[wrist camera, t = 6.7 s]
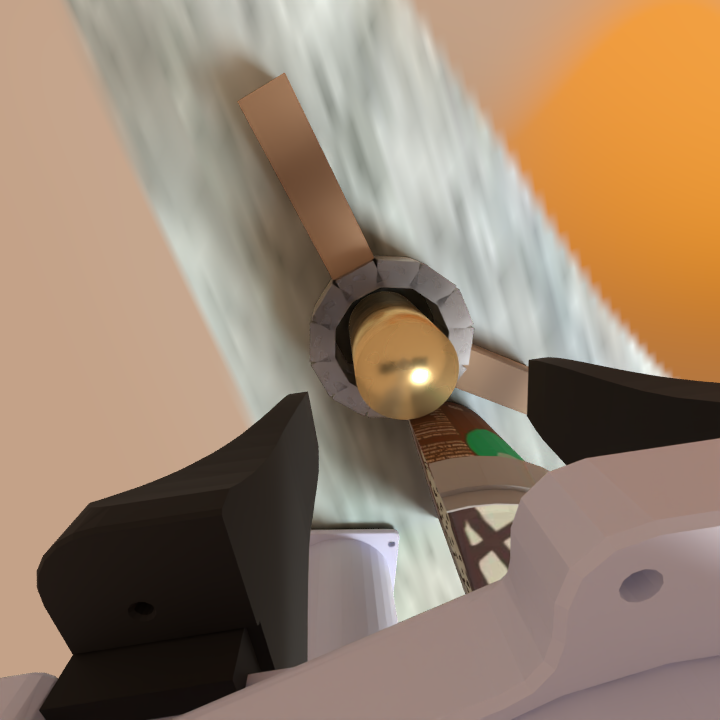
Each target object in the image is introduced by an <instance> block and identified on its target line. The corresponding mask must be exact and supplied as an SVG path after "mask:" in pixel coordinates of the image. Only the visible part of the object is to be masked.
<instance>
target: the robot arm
mask: <svg viewBox="0 0 720 720" xmlns="http://www.w3.org/2000/svg"><path fill="white" fill-rule="evenodd" d="M527 417H528V418H529V420H530V422H531V423H532V425H533V426H534V428H535V429H536V431H537V432H538V433H539V435H540V436H541V438H542V439H543V440H544V441H545V442H546V444H547V445H548V446H549V447H550V448H551V449H552V450H553V451H554V452H555V453H556V454H557V456H558V457H559V458H560V459H561V460H562V461H563V462H564V463H565V464H566V466H564V467H561V468H558V469H555V470H553V471H550V472H548V473H547V474H546V475H544V476H543V477H542V478H541V479H540V480H539V481H538V482H537V483H536V484H535V485H534V486H533V487H532V488H531V489H530V490H529V491H528V492H527V493H525V494H524V495H523V497H522V498H521V499H520V502H519V505H518V508H517V511H516V514H515V517H514V520H513V523H512V526H511V540H510V562H509V568H508V572H507V573H506V575H505V576H503V577H502V578H501V579H500V580H498V581H496V582H493V583H491V584H489V585H486V586H484V587H482V588H479V589H477V590H475V591H472V592H470V593H468V594H465V595H463V596H460V597H458V598H456V599H453V600H451V601H449V602H446V603H444V604H442V605H439V606H437V607H435V608H432V609H430V610H427V611H425V612H423V613H420V614H418V615H416V616H413V617H411V618H409V619H406V620H404V621H402V622H399V623H398V619H397V612H396V606H395V600H394V594H393V592H394V583H395V574H396V564H397V555H398V546H399V533H398V531H397V530H395V529H345V530H311V525H312V518H313V510H314V503H315V496H316V489H317V481H318V473H319V450H318V442H317V436H316V431H315V426H314V421H313V416H312V410H311V405H310V400H309V395H308V392H302V393H295V394H289V395H287V396H286V397H285V398H283V399H282V400H281V401H280V402H279V403H278V404H277V405H276V406H275V407H274V408H272V409H271V410H270V411H269V412H268V413H267V414H266V415H265V416H263V417H262V418H261V419H260V420H259V421H258V422H256V423H255V424H254V425H253V426H251V427H250V428H249V429H248V430H246V431H245V432H244V433H243V434H241V435H240V436H239V437H237V438H236V439H234V440H233V441H231V442H230V443H228V444H227V445H225V446H224V447H222V448H220V449H219V450H217V451H215V452H214V453H212V454H210V455H208V456H206V457H205V458H203V459H201V460H199V461H197V462H195V463H193V464H191V465H189V466H187V467H185V468H183V469H181V470H179V471H177V472H174V473H172V474H170V475H168V476H165V477H163V478H161V479H158V480H156V481H153V482H151V483H148V484H146V485H143V486H140V487H137V488H135V489H131V490H129V491H126V492H122V493H120V494H116V495H114V496H110V497H108V498H104V499H101V500H98V501H95V502H91V503H89V504H88V505H87V506H86V508H85V509H84V510H83V511H82V512H81V513H80V515H79V516H78V517H77V518H76V519H75V520H74V521H73V522H72V523H71V525H70V526H69V527H68V528H67V529H66V530H65V531H64V533H63V534H62V535H61V536H60V537H59V539H57V541H56V542H55V543H54V544H53V545H52V546H51V547H50V549H49V550H48V551H47V552H46V553H45V554H44V555H43V557H42V560H41V562H40V565H39V567H38V569H37V589H38V592H39V594H40V597H41V599H42V602H43V604H44V607H45V608H46V610H47V612H48V613H49V615H50V617H51V618H52V620H53V622H54V624H55V625H56V627H57V629H58V630H59V632H60V634H61V635H62V637H63V639H64V640H65V642H66V644H67V645H68V647H69V649H70V651H71V652H72V654H73V656H72V657H71V659H70V661H69V662H68V664H67V665H66V667H65V669H64V670H63V672H62V674H61V675H60V677H59V678H56V677H55V676H53V675H50V674H47V673H28V674H22V675H16V676H9V677H3V678H0V720H720V383H714V382H702V381H693V380H692V381H691V380H684V379H675V378H667V377H660V376H653V375H647V374H641V373H635V372H630V371H624V370H619V369H614V368H609V367H604V366H599V365H594V364H589V363H584V362H579V361H574V360H568V359H562V358H552V357H546V358H539V359H532V360H529V366H528V397H527ZM391 541H393V542H392V543H389V542H391Z"/></svg>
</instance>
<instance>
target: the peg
mask: <svg viewBox="0 0 720 720" xmlns="http://www.w3.org/2000/svg"><path fill="white" fill-rule="evenodd" d="M349 336H350V343H351V350H352V357H353V363H354V370H355V377H356V384H357V387H358V390H359V393H360V395H361V397H362V398H363V400H364V401H365V402H366V404H367V405H368V406H369V407H370V408H372V409H373V410H374V411H376V412H377V413H379V414H381V415H383V416H386V417H388V418H393V419H399V420H409V419H415V418H419V417H422V416H425V415H427V414H429V413H431V412H433V411H435V410H436V409H438V408H439V407H440V406H441V405H442V404H443V403H444V402H445V401H446V400H447V399H448V398H449V396H450V395H451V394H452V392H453V390H454V388H455V386H456V383H457V380H458V375H459V361H458V356H457V353H456V350H455V348H454V346H453V344H452V343H451V341H450V340H449V339H448V338H447V337H446V336H445V335H444V334H443V333H442V332H441V331H440V330H439V329H438V328H437V327H436V326H435V325H434V324H433V323H432V322H431V321H430V320H429V319H428V318H427V317H426V316H425V315H424V314H423V313H422V312H420V311H419V310H418V309H417V308H416V307H415V306H414V305H413V304H412V303H411V302H410V301H409V300H408V299H407V298H405V297H404V296H402V295H400V294H398V293H394V292H389V291H382V292H377V293H373V294H371V295H369V296H367V297H365V298H364V299H362V300H361V301H360V302H359V303H358V304H357V305H356V307H355V308H354V310H353V311H352V314H351V316H350V320H349Z"/></svg>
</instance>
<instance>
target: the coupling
mask: <svg viewBox="0 0 720 720" xmlns="http://www.w3.org/2000/svg"><path fill="white" fill-rule="evenodd" d="M237 102H238V104H239V106H240V108H241V109H242V111H243V113H244V115H245V117H246V119H247V121H248V123H249V124H250V126H251V128H252V130H253V132H254V134H255V136H256V137H257V139H258V141H259V143H260V145H261V147H262V149H263V151H264V152H265V154H266V156H267V158H268V160H269V162H270V164H271V165H272V167H273V169H274V171H275V173H276V175H277V177H278V179H279V180H280V182H281V184H282V186H283V188H284V190H285V192H286V194H287V195H288V197H289V199H290V201H291V203H292V205H293V207H294V208H295V210H296V212H297V214H298V216H299V218H300V220H301V222H302V223H303V225H304V227H305V229H306V231H307V233H308V235H309V236H310V238H311V240H312V242H313V244H314V246H315V248H316V250H317V251H318V253H319V255H320V257H321V259H322V261H323V263H324V265H325V266H326V268H327V270H328V272H329V274H330V276H331V280H330V281H329V283H328V285H327V286H326V288H325V290H324V291H323V293H322V295H321V296H320V298H319V300H318V301H317V303H316V304H315V306H314V310H313V313H312V317H311V321H310V361H311V366H312V368H313V370H314V371H315V373H316V374H317V376H318V378H319V379H320V381H321V383H322V384H323V386H324V388H325V389H326V391H327V393H328V394H329V396H332V395H333V400H335V401H337V402H339V403H341V404H343V405H344V406H346V407H348V408H350V409H352V410H354V411H355V412H357V413H359V414H361V415H363V416H365V414H366V413H367V414H368V417H386V416H383V415H381V414H379V413H377V412H376V411H374V410H373V409H372V408H370V407H369V406H368V405H367V404H366V402H365V401H364V400H363V398H362V397H361V395H360V393H359V390H358V387H357V384H356V377H355V370H354V366H353V365H351V364H350V363H348V362H347V361H346V359H345V358H344V356H343V354H342V352H341V351H340V349H339V347H338V345H337V343H336V342H335V331H336V327H337V325H338V324H339V322H340V321H341V319H342V318H343V316H344V314H345V313H346V311H347V310H348V308H349V307H350V305H351V303H352V302H354V301H355V300H357V299H359V298H361V297H363V296H365V295H367V294H369V293H371V292H373V291H374V290H376V289H378V288H380V287H389V288H413V289H414V290H416V291H417V292H419V293H420V294H422V295H423V296H424V297H425V300H426V302H427V304H428V306H429V308H430V311H431V313H432V315H433V317H434V320H433V324H434V325H435V326H436V327H437V328H438V329H439V330H440V331H441V332H442V333H443V334H444V335H445V336H446V337H447V338H448V339H449V340H450V341H451V343H452V344H453V346H454V348H455V350H456V353H457V356H458V361H459V375H458V380H457V383H456V386H455V388H458V389H461V390H463V391H466V392H469V393H471V394H474V395H476V396H479V397H482V398H484V399H487V400H490V401H492V402H495V403H498V404H500V405H503V406H506V407H508V408H511V409H513V410H516V411H519V412H521V413H524V414H527V397H528V366H525V365H523V364H521V363H518V362H516V361H513V360H511V359H508V358H506V357H503V356H501V355H499V354H496V353H494V352H491V351H489V350H486V349H484V348H481V347H479V346H476V345H474V344H472V339H473V333H474V328H473V327H472V326H471V325H473V321H472V319H471V316H470V314H469V312H468V309H467V307H466V304H465V302H464V299H463V297H462V295H461V292H460V290H459V289H458V288H456V285H455V284H453V283H452V282H450V281H449V280H447V279H446V278H444V277H443V276H442V275H440V274H439V273H437V272H436V271H434V270H433V269H431V268H430V267H429V266H427V265H426V264H424V263H422V262H419V261H417V260H414V259H412V258H409V257H397V256H375V255H373V254H372V252H371V250H370V248H369V246H368V244H367V242H366V240H365V238H364V236H363V233H362V231H361V229H360V227H359V225H358V223H357V221H356V219H355V217H354V215H353V213H352V211H351V209H350V207H349V205H348V202H347V200H346V198H345V196H344V194H343V192H342V190H341V188H340V186H339V184H338V182H337V180H336V178H335V176H334V173H333V171H332V169H331V167H330V165H329V163H328V161H327V159H326V157H325V155H324V153H323V151H322V149H321V147H320V145H319V142H318V140H317V138H316V136H315V134H314V132H313V130H312V128H311V126H310V124H309V122H308V120H307V118H306V116H305V114H304V111H303V109H302V107H301V105H300V103H299V101H298V99H297V97H296V95H295V93H294V91H293V89H292V87H291V85H290V82H289V80H288V78H287V76H286V74H285V73H283V74H282V75H280V76H278V77H277V78H275V79H273V80H272V81H270V82H268V83H267V84H265V85H263V86H262V87H260V88H259V89H257V90H255V91H254V92H252V93H250V94H249V95H247V96H245V97H244V98H242V99H240V100H239V101H237Z"/></svg>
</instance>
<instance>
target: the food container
mask: <svg viewBox="0 0 720 720" xmlns="http://www.w3.org/2000/svg"><path fill="white" fill-rule="evenodd" d="M408 423H409V426H410V429H411V432H412V435H413V439H414V442H415V445H416V448H417V451H418V455H419V458H420V461H421V464H422V467H423V471H424V474H425V477H426V480H427V483H428V487H429V490H430V493H431V496H432V499H433V503H434V506H435V509H436V512H437V515H438V519H439V521H440V524H441V527H442V530H443V533H444V535H445V538H446V541H447V544H448V547H449V550H450V552H451V555H452V558H453V561H454V564H455V566H456V569H457V572H458V575H459V578H460V580H461V583H462V586H463V589H464V592H465V594H468V593H470V592H472V591H475V590H477V589H479V588H482V587H484V586H486V585H489V584H491V583H493V582H496V581H498V580H500V579H501V578H502V577H503V576H505V575H506V573H507V572H508V568H509V562H510V540H511V526H512V523H513V520H514V517H515V514H516V511H517V508H518V505H519V502H520V499H521V498H522V497H523V495H524V494H525V493H527V492H528V491H529V490H530V489H531V488H532V487H533V486H534V485H535V484H536V483H537V482H538V481H539V480H540V479H541V478H542V477H543V476H544V475H546V474H547V473H548V472H550V471H548V470H546V469H544V468H542V467H540V466H537V465H534V464H531V463H528V462H525V461H524V460H523V459H522V458H521V457H520V456H519V455H518V454H517V453H516V452H515V451H514V450H513V449H512V448H511V447H510V446H509V445H508V444H507V443H506V442H505V441H504V440H503V439H502V438H501V437H500V436H499V435H498V434H497V433H496V432H495V431H494V430H493V429H492V428H491V427H490V426H489V425H488V424H487V423H486V422H485V421H484V420H483V419H482V418H481V417H480V416H478V415H477V414H476V413H475V412H473V411H472V410H470V409H468V408H466V407H464V406H462V405H459V404H456V403H453V402H448V401H445V402H444V403H443V404H442V405H441V406H440V407H439V408H438V409H436V410H435V411H433V412H431V413H429V414H427V415H425V416H422V417H419V418H415V419H409V420H408Z"/></svg>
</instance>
